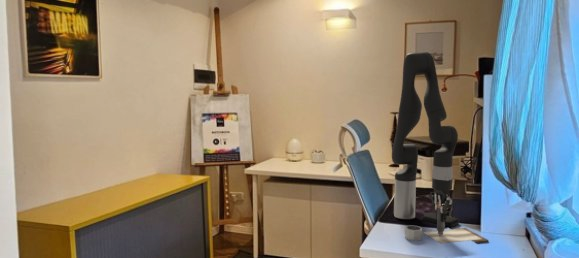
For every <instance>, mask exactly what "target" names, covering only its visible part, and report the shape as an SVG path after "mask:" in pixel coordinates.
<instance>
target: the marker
mask: <svg viewBox="0 0 579 258" xmlns="http://www.w3.org/2000/svg"><path fill="white" fill-rule="evenodd" d="M443 209H444V207H443ZM440 212H441V209H440V206H439V203H438V209H437V224H436V231H438V234H440V235H443V231H444V230H445V227H446V226H445V222H441V221H440Z"/></svg>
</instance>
